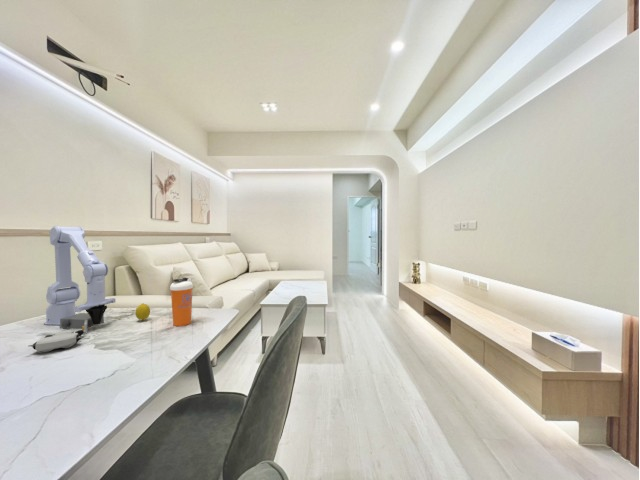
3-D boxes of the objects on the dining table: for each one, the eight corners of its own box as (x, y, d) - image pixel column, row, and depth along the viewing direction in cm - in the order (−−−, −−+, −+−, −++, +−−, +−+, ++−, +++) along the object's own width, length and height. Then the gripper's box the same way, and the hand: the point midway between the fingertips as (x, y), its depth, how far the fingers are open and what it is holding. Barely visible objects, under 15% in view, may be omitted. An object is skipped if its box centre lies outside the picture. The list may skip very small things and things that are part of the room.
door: (88, 328, 105) (88, 319, 105) (87, 333, 99) (86, 324, 99) (83, 328, 104) (83, 319, 104) (82, 334, 98) (82, 324, 98)
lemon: (137, 319, 116) (136, 302, 116) (151, 318, 119) (151, 301, 118) (134, 323, 111) (133, 305, 111) (149, 321, 114) (148, 304, 113)
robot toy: (43, 345, 91) (26, 358, 79) (43, 332, 92) (26, 344, 79) (88, 337, 98) (79, 348, 86) (88, 325, 99) (79, 335, 86)
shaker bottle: (165, 325, 108) (164, 279, 107) (182, 319, 116) (181, 276, 116) (182, 328, 105) (181, 280, 105) (198, 321, 114) (197, 277, 113)
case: (57, 329, 105) (57, 318, 105) (80, 321, 114) (80, 311, 114) (83, 329, 104) (82, 318, 104) (103, 322, 113) (103, 312, 113)
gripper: (84, 296, 98) (85, 330, 98) (120, 288, 112) (121, 318, 112) (70, 295, 99) (71, 329, 99) (108, 288, 113) (108, 317, 113)
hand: (96, 323), depth 106 cm, fingers closed
